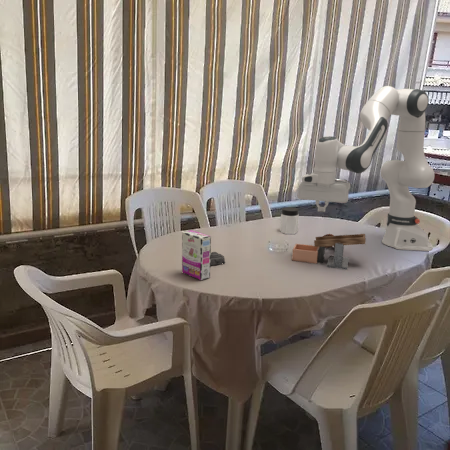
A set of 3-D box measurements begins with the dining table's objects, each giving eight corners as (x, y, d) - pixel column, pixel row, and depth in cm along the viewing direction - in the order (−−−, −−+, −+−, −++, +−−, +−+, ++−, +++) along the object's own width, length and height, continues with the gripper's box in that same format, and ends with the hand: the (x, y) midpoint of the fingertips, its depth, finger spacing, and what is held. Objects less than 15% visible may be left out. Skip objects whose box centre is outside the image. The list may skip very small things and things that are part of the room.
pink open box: (318, 257, 198) (319, 246, 197) (316, 263, 191) (317, 252, 189) (295, 254, 201) (295, 243, 200) (292, 260, 193) (292, 249, 192)
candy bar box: (211, 278, 173) (211, 235, 168) (200, 281, 169) (201, 238, 165) (191, 269, 180) (191, 229, 176) (181, 272, 177) (181, 231, 172)
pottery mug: (344, 254, 205) (338, 240, 201) (324, 261, 207) (317, 247, 203) (339, 240, 215) (333, 226, 211) (320, 247, 217) (314, 233, 214)
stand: (348, 259, 197) (351, 236, 194) (347, 269, 185) (349, 245, 182) (320, 255, 200) (322, 233, 198) (316, 265, 188) (318, 242, 186)
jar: (284, 228, 240) (285, 206, 237) (299, 231, 237) (300, 208, 234) (278, 233, 233) (279, 209, 229) (293, 235, 229) (295, 212, 226)
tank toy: (200, 269, 182) (200, 257, 181) (191, 262, 190) (191, 250, 189) (227, 265, 187) (227, 253, 186) (218, 258, 195) (218, 246, 194)
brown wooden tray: (365, 239, 191) (365, 232, 190) (365, 245, 183) (364, 238, 182) (316, 242, 197) (316, 236, 196) (314, 248, 189) (313, 241, 189)
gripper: (351, 178, 185) (347, 212, 189) (300, 175, 191) (297, 207, 195) (350, 181, 179) (347, 215, 183) (297, 177, 185) (295, 210, 189)
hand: (321, 211), depth 189 cm, fingers closed
